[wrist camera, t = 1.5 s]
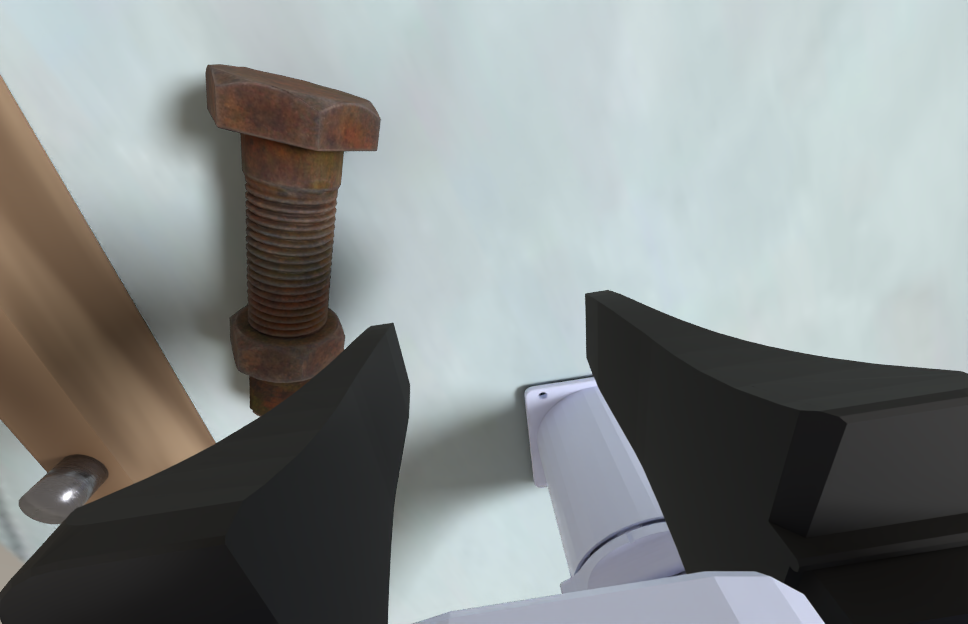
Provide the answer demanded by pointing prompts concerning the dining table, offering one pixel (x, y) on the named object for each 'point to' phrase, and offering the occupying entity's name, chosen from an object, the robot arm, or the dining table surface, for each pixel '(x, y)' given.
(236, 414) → the dining table surface
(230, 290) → the dining table surface
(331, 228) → the bolt
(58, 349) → the bench stop
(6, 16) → the dining table surface
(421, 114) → the dining table surface
